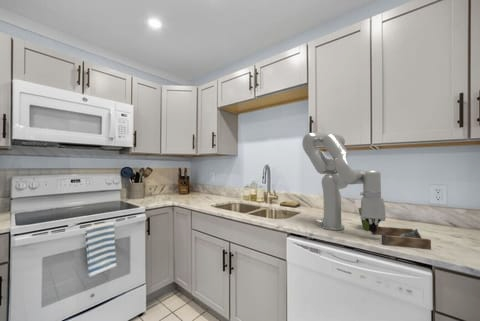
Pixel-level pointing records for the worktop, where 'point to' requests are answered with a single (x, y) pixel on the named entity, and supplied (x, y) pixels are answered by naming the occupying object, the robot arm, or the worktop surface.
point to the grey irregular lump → (411, 234)
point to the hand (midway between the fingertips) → (372, 231)
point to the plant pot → (365, 222)
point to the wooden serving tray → (401, 238)
